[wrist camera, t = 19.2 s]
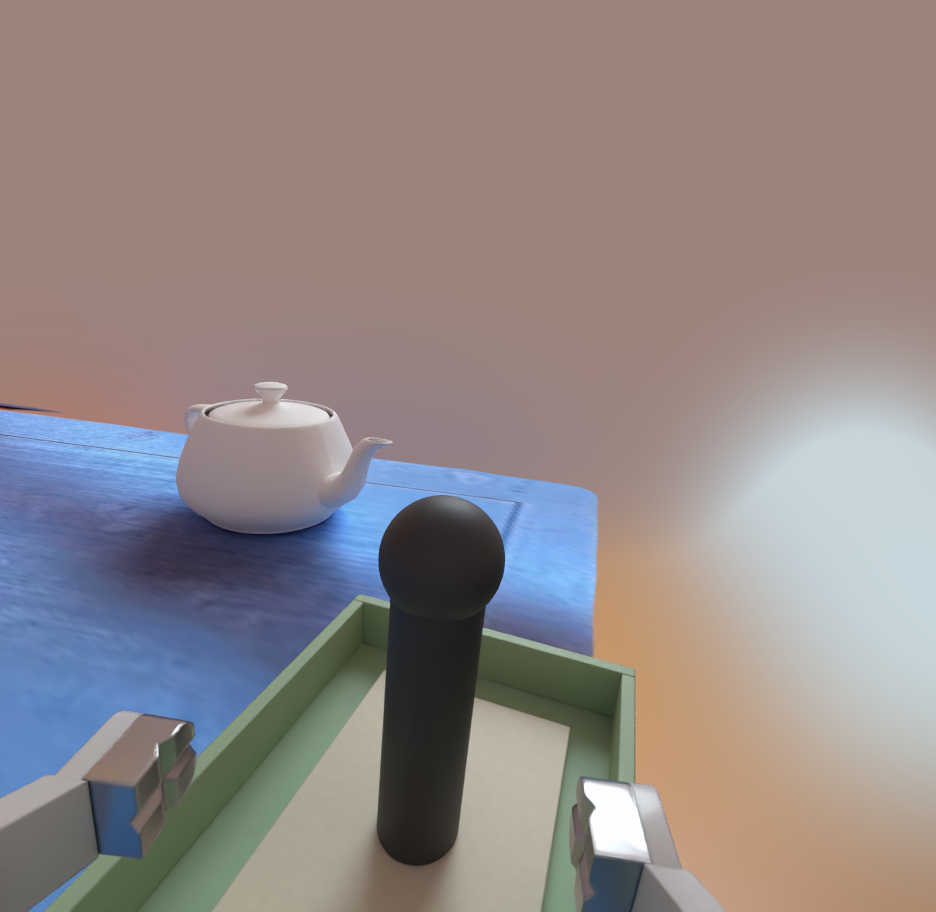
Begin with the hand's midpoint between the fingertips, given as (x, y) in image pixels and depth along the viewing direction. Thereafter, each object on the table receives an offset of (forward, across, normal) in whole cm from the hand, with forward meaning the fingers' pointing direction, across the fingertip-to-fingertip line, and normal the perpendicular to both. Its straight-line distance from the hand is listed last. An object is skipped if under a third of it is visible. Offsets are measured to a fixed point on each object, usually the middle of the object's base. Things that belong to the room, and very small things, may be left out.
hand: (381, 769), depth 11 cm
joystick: (+5, 0, +8) cm, 10 cm away
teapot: (+30, +15, +9) cm, 35 cm away
